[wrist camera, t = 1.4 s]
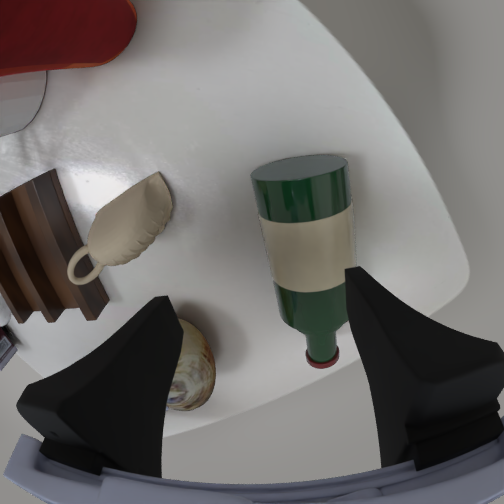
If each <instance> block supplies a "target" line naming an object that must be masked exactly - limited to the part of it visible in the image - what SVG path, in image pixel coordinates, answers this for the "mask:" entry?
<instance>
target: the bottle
mask: <svg viewBox="0 0 504 504" xmlns="http://www.w3.org/2000/svg"><path fill="white" fill-rule="evenodd" d="M251 181H252V186H253V190H254V195H255V199H256V204H257V208H258V216H259V221H260V225H261V230H262V234H263V239H264V244H265V248H266V253H267V258H268V262H269V267H270V272H271V276H272V278H273V283H274V288H275V293H276V298H277V302H278V307H279V312H280V316H281V318H282V319H283V321H284V322H285V323H286V324H288V325H289V326H290V327H292V328H294V329H297V330H298V331H299V332H301V333H303V334H305V336H306V343H307V350H306V360H307V362H308V363H309V364H310V365H311V366H312V367H315V368H319V369H324V368H328V367H331V366H332V365H334V364H335V363H336V362H337V361H338V359H339V348H338V346H337V340H336V331H337V330H338V329H339V328H340V327H341V326H342V325H343V324H344V323H345V322H347V321H348V320H349V319H348V314H347V310H346V288H345V270H344V269H346V268H352V267H356V265H357V264H356V242H355V226H354V213H353V201H352V198H351V187H350V178H349V169H348V162H347V160H346V159H345V158H342V157H339V156H333V155H309V156H300V157H293V158H288V159H283V160H279V161H275V162H272V163H269V164H266V165H264V166H261V167H259V168H257V169H256V170H254V171H253V172H252V173H251Z"/></svg>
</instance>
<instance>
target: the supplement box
mask: <svg viewBox="0 0 504 504" xmlns="http://www.w3.org/2000/svg"><path fill="white" fill-rule="evenodd" d="M17 350H18V349H17V348H16V347H15V345H14V344H13V343H12V342H11V340H10V339H9V338H8V336H7V335H6V334H5V333H4V331H3V330H2V329H1V327H0V371H2V369H3V368H4V367H5V366H6V364H7V363H8V362H9V360H10V359H11V358H12V357H13V355H14V354H15V353H16V352H17Z"/></svg>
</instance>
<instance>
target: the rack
mask: <svg viewBox="0 0 504 504" xmlns="http://www.w3.org/2000/svg"><path fill="white" fill-rule="evenodd" d="M81 247H83V243H82V241H81V239H80V236H79V234H78V232H77V229H76V227H75V224H74V222H73V219H72V217H71V214H70V211H69V209H68V206H67V203H66V201H65V198H64V195H63V192H62V189H61V187H60V184H59V181H58V178H57V175H56V171H55V169H52V170H50V171H48V172H46V173H44V174H42V175H40V176H38V177H36V178H34V179H32V180H30V181H28V182H26V183H24V184H22V185H21V186H19V187H17V188H15V189H13V190H11V191H10V192H8V193H6V194H4V195H2V196H1V197H0V293H1V295H2V297H3V298H4V300H5V302H6V304H7V305H8V307H9V309H10V310H11V312H12V314H13V315H14V317H15V318H16V320H17V322H18V323H25V322H26V320H27V319H28V318H29V317H30V315H31V314H32V313H33V312H34V311H41V312H42V314H43V315H44V317H45V319H46V320H47V322H48V323H52V322H56V320H57V319H58V318H59V316H60V315H61V314H62V312H63V311H64V310H65V309H69V308H80V310H81V311H82V313H83V315H84V317H85V318H86V320H87V321H90V320H97V318H98V317H99V315H100V313H101V312H102V310H103V309H104V307H105V306H106V304H107V303H108V301H109V298H108V297H107V295H106V293H105V291H104V289H103V287H102V285H101V283H100V281H99V278H98V276H97V277H96V278H95V279H93V280H92V281H90V282H89V283H86V284H83V285H77V284H74V283H72V282H71V281H70V280H69V277H68V274H67V269H68V265H69V262H70V260H71V258H72V256H73V255H74V254H75V252H76V251H78V250H79V249H80V248H81ZM93 269H94V268H93V266H92V264H91V261H90V259H89V257H88V255H87V254H86V255H84V256H83V257H82V258H81V259H80V260H79V261H78V262H77V264H76V266H75V268H74V275H75V277H77V278H83V277H85V276H87V275H88V274H89V273H90V272H91V271H92V270H93Z"/></svg>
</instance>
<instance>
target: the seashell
mask: <svg viewBox="0 0 504 504" xmlns="http://www.w3.org/2000/svg"><path fill="white" fill-rule="evenodd" d="M178 320H179V322H180V324H181V326H182V328H183V330H184V335H183V343H182V349H181V354H180V357H179V361H178V364H177V368H176V371H175V375H174V378H173V381H172V385H171V388H170V392H169V395H168V400H167V405H166V406H167V407H169V408H171V409H174V410H179V411H190V410H194V409H196V408H198V407H200V406H202V405H203V404H205V403H206V402H207V401H208V399H209V398H210V396H211V394H212V392H213V389H214V385H215V379H216V368H215V361H214V357H213V354H212V351H211V348H210V346H209V344H208V342H207V341H206V339H205V338H204V336H203V335H202V334H201V332H200V331H199V330H198V329H197V328H195V327H194V326H193V325H192V324H190V323H189V322H187V321H185V320H182V319H179V318H178Z"/></svg>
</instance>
